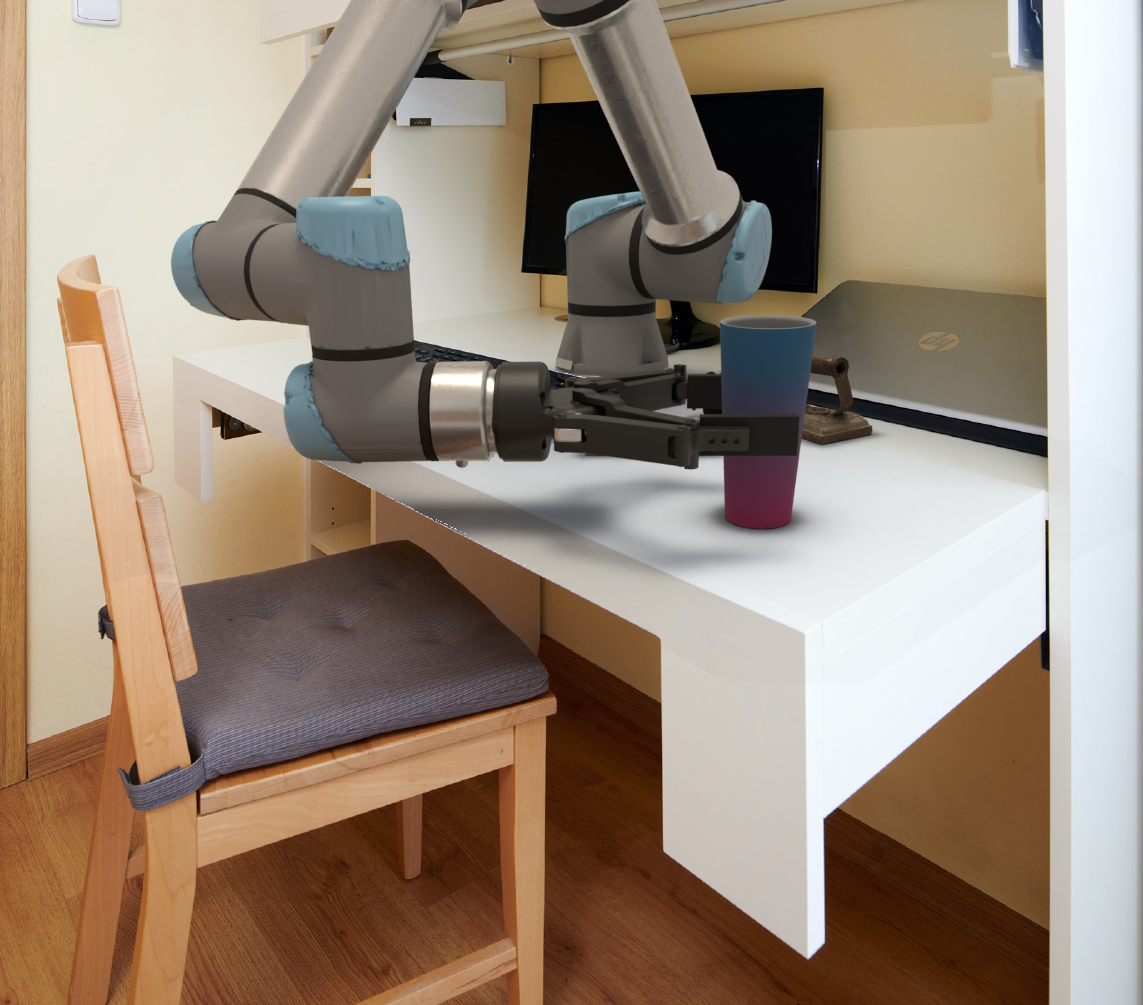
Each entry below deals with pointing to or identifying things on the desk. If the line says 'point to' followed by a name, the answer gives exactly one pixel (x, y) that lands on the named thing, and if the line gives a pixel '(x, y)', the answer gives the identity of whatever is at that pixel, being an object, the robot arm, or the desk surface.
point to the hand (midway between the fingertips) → (782, 410)
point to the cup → (764, 409)
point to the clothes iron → (830, 422)
